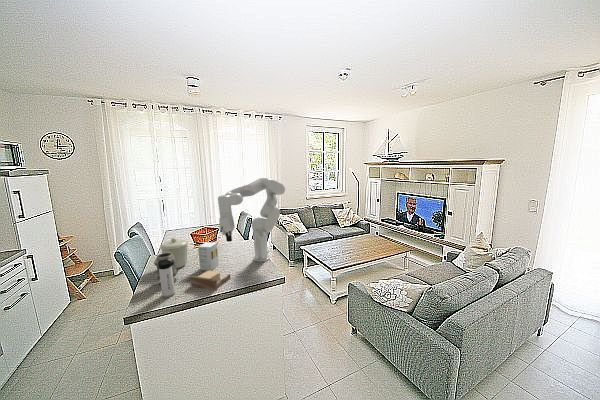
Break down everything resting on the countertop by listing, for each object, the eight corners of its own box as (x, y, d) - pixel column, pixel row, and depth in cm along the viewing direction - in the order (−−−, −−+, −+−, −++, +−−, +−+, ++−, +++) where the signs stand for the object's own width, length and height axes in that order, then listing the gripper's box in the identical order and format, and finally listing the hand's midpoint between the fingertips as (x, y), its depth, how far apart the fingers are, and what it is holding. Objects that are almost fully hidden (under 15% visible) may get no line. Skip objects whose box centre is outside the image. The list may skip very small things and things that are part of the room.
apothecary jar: (178, 275, 158) (175, 249, 155) (178, 283, 147) (175, 256, 144) (157, 280, 152) (153, 253, 149) (155, 289, 142) (152, 260, 139)
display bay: (208, 274, 158) (208, 265, 157) (231, 278, 152) (231, 269, 151) (191, 286, 144) (190, 276, 143) (215, 290, 138) (214, 281, 137)
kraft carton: (209, 277, 155) (208, 270, 154) (220, 280, 151) (219, 272, 150) (197, 284, 146) (196, 277, 145) (208, 287, 142) (207, 280, 141)
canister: (165, 274, 160) (162, 244, 157) (159, 265, 174) (156, 237, 170) (194, 265, 172) (191, 237, 169) (186, 258, 185) (183, 232, 182)
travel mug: (165, 292, 138) (160, 259, 134) (176, 291, 138) (172, 258, 135) (159, 298, 132) (155, 264, 128) (172, 297, 132) (167, 263, 129)
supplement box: (211, 270, 163) (209, 247, 161) (199, 270, 165) (197, 246, 162) (219, 264, 173) (217, 242, 170) (207, 264, 175) (205, 242, 172)
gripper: (228, 211, 163) (231, 236, 167) (213, 217, 149) (217, 244, 153) (237, 211, 160) (240, 237, 164) (223, 217, 147) (226, 245, 150)
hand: (229, 241), depth 158 cm, fingers closed
